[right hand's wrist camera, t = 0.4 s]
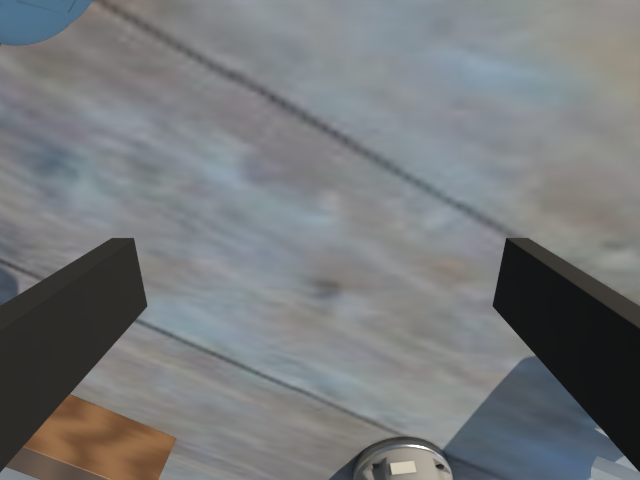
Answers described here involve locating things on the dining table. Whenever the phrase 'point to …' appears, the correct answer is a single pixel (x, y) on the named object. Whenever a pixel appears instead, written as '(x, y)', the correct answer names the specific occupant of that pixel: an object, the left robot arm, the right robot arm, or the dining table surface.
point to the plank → (92, 446)
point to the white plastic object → (611, 468)
